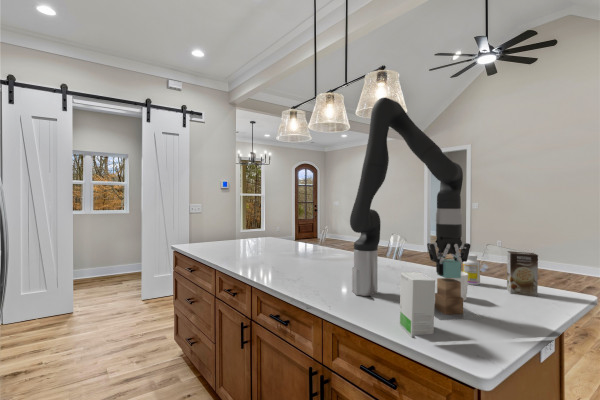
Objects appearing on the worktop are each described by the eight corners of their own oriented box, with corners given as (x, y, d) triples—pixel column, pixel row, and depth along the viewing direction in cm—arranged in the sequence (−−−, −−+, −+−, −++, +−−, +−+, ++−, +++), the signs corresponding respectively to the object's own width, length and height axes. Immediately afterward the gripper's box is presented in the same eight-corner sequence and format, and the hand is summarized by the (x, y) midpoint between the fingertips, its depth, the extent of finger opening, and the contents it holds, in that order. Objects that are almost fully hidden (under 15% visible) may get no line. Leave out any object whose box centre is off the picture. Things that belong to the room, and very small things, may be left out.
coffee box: (509, 293, 120) (509, 253, 120) (506, 289, 126) (506, 250, 126) (538, 296, 116) (538, 254, 117) (533, 292, 122) (533, 252, 122)
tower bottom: (445, 314, 95) (445, 298, 95) (434, 307, 101) (434, 292, 101) (463, 314, 95) (463, 298, 95) (451, 307, 101) (451, 292, 101)
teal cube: (445, 278, 95) (445, 262, 95) (437, 274, 100) (437, 259, 100) (460, 277, 96) (460, 262, 96) (451, 274, 101) (451, 259, 101)
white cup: (465, 297, 114) (465, 271, 115) (470, 304, 107) (470, 276, 107) (443, 295, 117) (443, 269, 117) (445, 301, 110) (445, 274, 110)
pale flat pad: (440, 322, 90) (440, 320, 90) (417, 306, 104) (417, 304, 104) (484, 321, 92) (484, 318, 92) (455, 305, 106) (455, 303, 106)
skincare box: (399, 325, 88) (399, 272, 88) (420, 324, 89) (420, 271, 89) (412, 338, 80) (412, 279, 80) (435, 337, 80) (436, 278, 81)
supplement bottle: (469, 280, 140) (469, 253, 140) (483, 284, 134) (483, 255, 134) (459, 282, 137) (459, 254, 137) (473, 286, 131) (473, 256, 131)
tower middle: (445, 298, 95) (445, 282, 95) (437, 293, 100) (437, 278, 100) (460, 297, 96) (460, 281, 96) (451, 293, 101) (451, 278, 101)
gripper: (433, 223, 94) (434, 278, 94) (477, 223, 95) (477, 277, 95) (421, 221, 101) (421, 272, 101) (462, 221, 103) (462, 271, 103)
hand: (448, 274), depth 98 cm, fingers closed on teal cube, 5 cm apart
